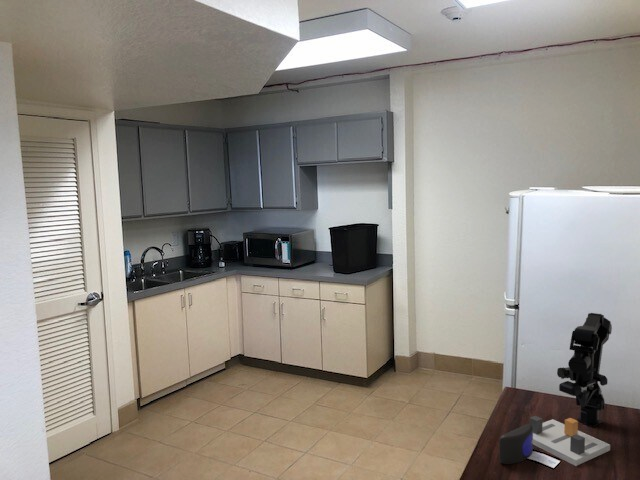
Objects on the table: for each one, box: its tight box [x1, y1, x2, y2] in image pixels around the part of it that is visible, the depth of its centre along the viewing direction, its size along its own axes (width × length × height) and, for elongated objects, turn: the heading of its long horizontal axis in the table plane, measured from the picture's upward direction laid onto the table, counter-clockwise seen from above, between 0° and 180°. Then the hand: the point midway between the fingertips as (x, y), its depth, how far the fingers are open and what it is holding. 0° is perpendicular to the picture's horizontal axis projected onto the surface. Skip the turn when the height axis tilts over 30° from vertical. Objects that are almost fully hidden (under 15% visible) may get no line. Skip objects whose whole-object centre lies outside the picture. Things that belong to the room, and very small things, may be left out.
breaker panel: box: [529, 415, 611, 467], centre depth 179 cm, size 18×22×7 cm
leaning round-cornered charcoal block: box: [498, 423, 534, 465], centre depth 171 cm, size 16×5×9 cm, turn 124°
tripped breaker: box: [564, 417, 579, 436], centre depth 181 cm, size 3×3×5 cm
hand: (582, 406), depth 184 cm, fingers closed
